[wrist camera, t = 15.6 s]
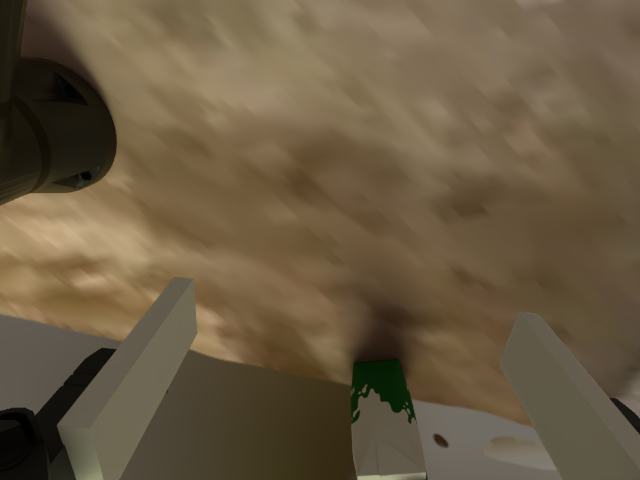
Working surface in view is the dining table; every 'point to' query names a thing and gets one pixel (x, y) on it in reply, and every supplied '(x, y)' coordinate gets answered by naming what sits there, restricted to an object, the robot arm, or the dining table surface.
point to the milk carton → (384, 424)
